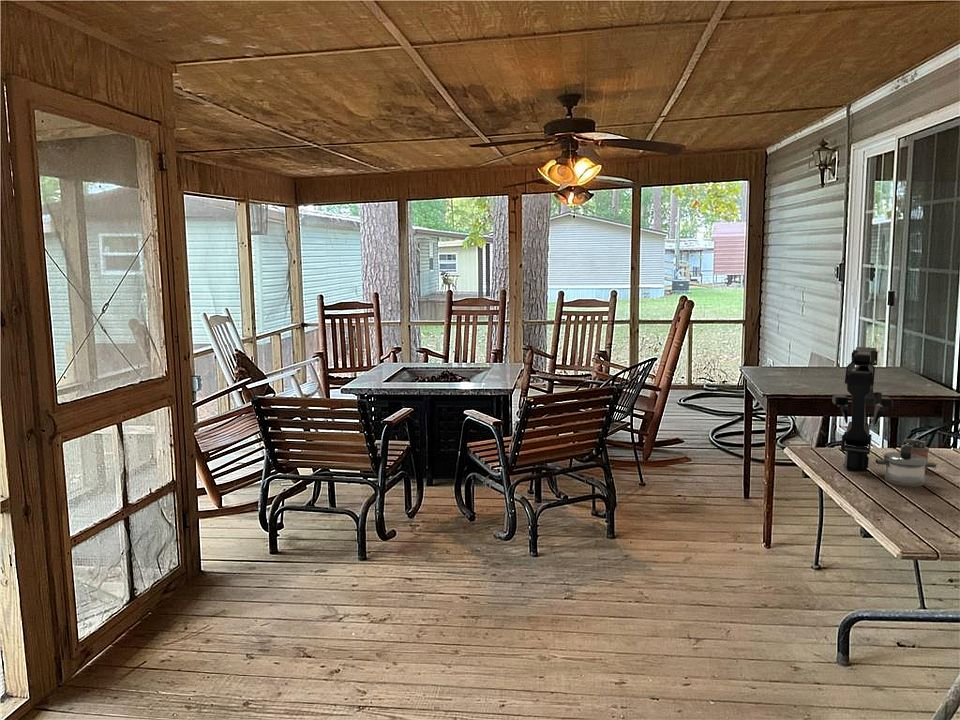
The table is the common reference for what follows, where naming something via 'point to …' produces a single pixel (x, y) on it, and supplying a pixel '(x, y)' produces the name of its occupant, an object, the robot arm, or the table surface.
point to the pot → (904, 473)
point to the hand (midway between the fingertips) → (860, 424)
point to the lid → (906, 457)
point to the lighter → (918, 448)
